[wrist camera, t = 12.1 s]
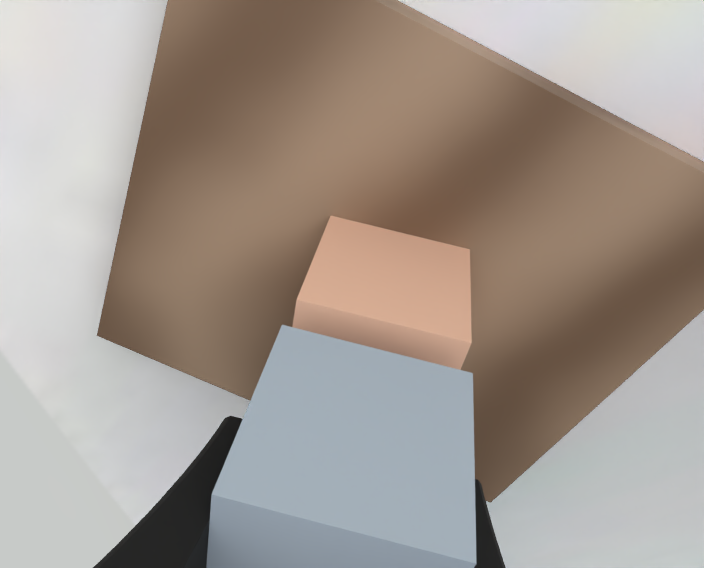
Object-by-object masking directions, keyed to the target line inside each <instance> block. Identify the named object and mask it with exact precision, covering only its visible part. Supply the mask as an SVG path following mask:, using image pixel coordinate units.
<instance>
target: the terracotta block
mask: <svg viewBox="0 0 704 568" xmlns="http://www.w3.org/2000/svg"><path fill="white" fill-rule="evenodd" d="M292 327H293V328H297V329H301V330H305V331H309V332H313V333H317V334H321V335H325V336H329V337H333V338H337V339H341V340H345V341H348V342H352V343H356V344H360V345H364V346H368V347H372V348H376V349H380V350H384V351H388V352H392V353H396V354H400V355H404V356H407V357H411V358H415V359H419V360H423V361H427V362H431V363H435V364H439V365H443V366H447V367H451V368H455V369H459V370H461V367H462V365H463V362H464V360H465V358H466V355H467V353H468V350H469V348H470V346H471V343H472V333H471V278H470V249H466V248H462V247H458V246H454V245H450V244H446V243H442V242H437V241H433V240H429V239H425V238H421V237H417V236H413V235H409V234H405V233H400V232H396V231H392V230H388V229H384V228H380V227H376V226H372V225H368V224H363V223H359V222H355V221H351V220H347V219H343V218H339V217H335V216H330V218H329V221H328V223H327V226H326V228H325V231H324V233H323V236H322V238H321V240H320V243H319V245H318V248H317V250H316V253H315V255H314V258H313V260H312V263H311V265H310V268H309V270H308V273H307V275H306V278H305V280H304V283H303V285H302V287H301V290H300V292H299V295H298V297H297V300H296V306H295V313H294V319H293V325H292Z"/></svg>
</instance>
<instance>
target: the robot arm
mask: <svg viewBox="0 0 704 568" xmlns="http://www.w3.org/2000/svg"><path fill="white" fill-rule="evenodd" d="M242 420H243V419H241V418H237V417H233V416H229V417H227V418H225V419H224V420H223V422H222V423H221V425H220V426H219V428H218V429H217V431H216V432H215V434H214V435H213V436H212V438H211V439H210V440H209V442H208V443H207V444H206V446H205V447H204V448H203V450H202V451H201V452H200V454H199V455H198V456H197V457H196V459H195V460H194V461H193V462H192V463H191V465H190V466H189V467H188V468H187V470H186V471H185V472H184V473H183V474H182V476H181V477H180V478H179V479H178V480H177V481H176V482H175V483H174V485H173V486H172V487H171V488H170V489H169V490H168V491H167V493H166V494H165V495H164V496H163V497H162V498H161V499H160V501H159V502H158V503H157V504H156V505H155V506H154V507H153V508H152V509H151V510H150V511H149V513H148V514H147V515H146V516H145V517H144V518H143V519H142V520H141V521H140V522H139V523H138V524H137V525H136V526H135V527H134V528H133V529H132V530H131V531H130V532H129V533H128V534H127V535H126V536H125V537H124V538H123V539H122V540H121V541H120V542H119V544H117V545H116V546H115V547H114V548H113V549H112V550H111V551H110V552H109V553H108V554H107V555H106V556H105V557H104V558H103V559H102V560H101V561H100V562H99V563H98V564H97V565H95V566H94V567H93V568H206V565H207V551H208V537H209V523H210V509H211V495H212V492H213V490H214V487H215V485H216V483H217V480H218V478H219V475H220V473H221V471H222V468H223V466H224V463H225V461H226V459H227V456H228V454H229V451H230V449H231V446H232V444H233V442H234V439H235V437H236V434H237V432H238V430H239V427H240V425H241V422H242ZM475 511H476V565H475V567H474V568H505V565H504V562H503V559H502V556H501V552H500V549H499V546H498V543H497V540H496V536H495V533H494V530H493V526H492V523H491V519H490V516H489V512H488V508H487V505H486V501H485V497H484V493H483V489H482V485H481V483H480V482H479V480H478V479H475Z"/></svg>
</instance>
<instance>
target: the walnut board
mask: <svg viewBox="0 0 704 568" xmlns="http://www.w3.org/2000/svg"><path fill="white" fill-rule="evenodd" d="M330 216H335V217H339V218H343V219H347V220H351V221H355V222H359V223H363V224H368V225H372V226H376V227H380V228H384V229H388V230H392V231H396V232H400V233H405V234H409V235H413V236H417V237H421V238H425V239H429V240H433V241H437V242H442V243H446V244H450V245H454V246H458V247H462V248H466V249H470V278H471V333H472V343H471V346H470V348H469V350H468V353H467V355H466V358H465V360H464V362H463V365H462V367H461V370H463V371H466V372H470V373H473V406H474V459H475V479H478V480H479V482H480V483H481V485H482V489H483V493H484V497H485V500H486V501H488V502H492V501H493V500H494V499H495V498H496V497H497V496H498V495H499V494H500V493H502V492H503V491H504V490H505V489H506V488H507V487H508V486H509V485H510V484H512V483H513V482H514V481H515V480H516V479H517V478H518V477H519V476H520V475H521V474H523V473H524V472H525V471H526V470H527V469H528V468H529V467H530V466H531V465H533V464H534V463H535V462H536V461H537V460H538V459H539V458H540V457H541V456H542V455H544V454H545V453H546V452H547V451H548V450H549V449H550V448H551V447H552V446H554V445H555V444H556V443H557V442H558V441H559V440H560V439H561V438H562V437H563V436H565V435H566V434H567V433H568V432H569V431H570V430H571V429H572V428H573V427H575V426H576V425H577V424H578V423H579V422H580V421H581V420H582V419H583V418H584V417H586V416H587V415H588V414H589V413H590V412H591V411H592V410H593V409H594V408H595V407H597V406H598V405H599V404H600V403H601V402H602V401H603V400H604V399H605V398H607V397H608V396H609V395H610V394H611V393H612V392H613V391H614V390H615V389H616V388H618V387H619V386H620V385H621V384H622V383H623V382H624V381H625V380H626V379H628V378H629V377H630V376H631V375H632V374H633V373H634V372H635V371H636V370H637V369H639V368H640V367H641V366H642V365H643V364H644V363H645V362H646V361H647V360H649V359H650V358H651V357H652V356H653V355H654V354H655V353H656V352H657V351H658V350H660V349H661V348H662V347H663V346H664V345H665V344H666V343H667V342H668V341H670V340H671V339H672V338H673V337H674V336H675V335H676V334H677V333H678V332H679V331H681V330H682V329H683V328H684V327H685V326H686V325H687V324H688V323H689V322H691V321H692V320H693V319H694V318H695V317H696V316H697V315H698V314H699V313H700V312H702V311H703V310H704V162H703V161H701V160H699V159H697V158H695V157H693V156H691V155H689V154H688V153H686V152H684V151H682V150H680V149H678V148H676V147H674V146H672V145H670V144H669V143H667V142H665V141H663V140H661V139H659V138H657V137H655V136H653V135H652V134H650V133H648V132H646V131H644V130H642V129H640V128H638V127H636V126H634V125H633V124H631V123H629V122H627V121H625V120H623V119H621V118H619V117H617V116H616V115H614V114H612V113H610V112H608V111H606V110H604V109H602V108H600V107H598V106H597V105H595V104H593V103H591V102H589V101H587V100H585V99H583V98H581V97H580V96H578V95H576V94H574V93H572V92H570V91H568V90H566V89H564V88H562V87H561V86H559V85H557V84H555V83H553V82H551V81H549V80H547V79H545V78H543V77H542V76H540V75H538V74H536V73H534V72H532V71H530V70H528V69H526V68H525V67H523V66H521V65H519V64H517V63H515V62H513V61H511V60H509V59H507V58H506V57H504V56H502V55H500V54H498V53H496V52H494V51H492V50H490V49H489V48H487V47H485V46H483V45H481V44H479V43H477V42H475V41H473V40H471V39H470V38H468V37H466V36H464V35H462V34H460V33H458V32H456V31H454V30H453V29H451V28H449V27H447V26H445V25H443V24H441V23H439V22H437V21H435V20H434V19H432V18H430V17H428V16H426V15H424V14H422V13H420V12H418V11H416V10H415V9H413V8H411V7H409V6H407V5H405V4H403V3H401V2H399V1H398V0H168V3H167V7H166V12H165V17H164V21H163V26H162V31H161V36H160V40H159V45H158V50H157V55H156V59H155V64H154V69H153V73H152V78H151V83H150V88H149V92H148V97H147V102H146V106H145V111H144V116H143V121H142V125H141V130H140V135H139V140H138V144H137V149H136V154H135V158H134V163H133V168H132V173H131V177H130V182H129V187H128V191H127V196H126V201H125V206H124V210H123V215H122V220H121V224H120V229H119V234H118V239H117V243H116V248H115V253H114V258H113V262H112V267H111V272H110V276H109V281H108V286H107V291H106V295H105V300H104V305H103V309H102V314H101V319H100V324H99V328H98V333H97V336H99V337H102V338H104V339H106V340H109V341H111V342H113V343H116V344H118V345H121V346H123V347H125V348H128V349H130V350H132V351H135V352H137V353H139V354H142V355H144V356H146V357H149V358H151V359H154V360H156V361H158V362H161V363H163V364H165V365H168V366H170V367H172V368H175V369H177V370H179V371H182V372H184V373H187V374H189V375H191V376H194V377H196V378H198V379H201V380H203V381H205V382H208V383H210V384H212V385H215V386H217V387H220V388H222V389H224V390H227V391H229V392H231V393H234V394H236V395H238V396H241V397H243V398H245V399H248V400H250V401H251V398H252V396H253V393H254V391H255V389H256V386H257V384H258V381H259V379H260V377H261V374H262V372H263V369H264V367H265V365H266V362H267V360H268V357H269V355H270V352H271V350H272V348H273V345H274V343H275V340H276V338H277V336H278V333H279V331H280V328H281V326H282V325H285V326H289V327H292V325H293V319H294V313H295V306H296V300H297V297H298V295H299V292H300V290H301V287H302V285H303V283H304V280H305V278H306V275H307V273H308V270H309V268H310V265H311V263H312V260H313V258H314V255H315V253H316V250H317V248H318V245H319V243H320V240H321V238H322V236H323V233H324V231H325V228H326V226H327V223H328V221H329V218H330Z"/></svg>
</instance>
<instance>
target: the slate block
mask: <svg viewBox="0 0 704 568" xmlns="http://www.w3.org/2000/svg"><path fill="white" fill-rule="evenodd" d="M475 565H476V511H475V459H474V406H473V373H470V372H466V371H463V370H459V369H455V368H451V367H447V366H443V365H439V364H435V363H431V362H427V361H423V360H419V359H415V358H411V357H407V356H404V355H400V354H396V353H392V352H388V351H384V350H380V349H376V348H372V347H368V346H364V345H360V344H356V343H352V342H348V341H345V340H341V339H337V338H333V337H329V336H325V335H321V334H317V333H313V332H309V331H305V330H301V329H297V328H293V327H289V326H285V325H282V326H281V328H280V331H279V333H278V336H277V338H276V340H275V343H274V345H273V348H272V350H271V352H270V355H269V357H268V360H267V362H266V365H265V367H264V369H263V372H262V374H261V377H260V379H259V381H258V384H257V386H256V389H255V391H254V393H253V396H252V398H251V401H250V403H249V405H248V408H247V410H246V413H245V415H244V418H243V420H242V422H241V425H240V427H239V430H238V432H237V434H236V437H235V439H234V442H233V444H232V446H231V449H230V451H229V454H228V456H227V459H226V461H225V463H224V466H223V468H222V471H221V473H220V475H219V478H218V480H217V483H216V485H215V487H214V490H213V492H212V495H211V509H210V523H209V537H208V551H207V565H206V568H474V567H475Z"/></svg>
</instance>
